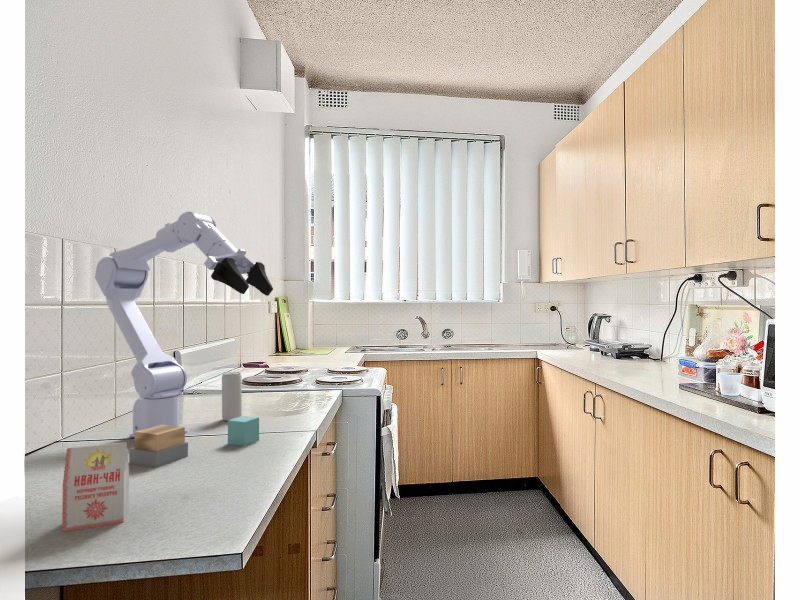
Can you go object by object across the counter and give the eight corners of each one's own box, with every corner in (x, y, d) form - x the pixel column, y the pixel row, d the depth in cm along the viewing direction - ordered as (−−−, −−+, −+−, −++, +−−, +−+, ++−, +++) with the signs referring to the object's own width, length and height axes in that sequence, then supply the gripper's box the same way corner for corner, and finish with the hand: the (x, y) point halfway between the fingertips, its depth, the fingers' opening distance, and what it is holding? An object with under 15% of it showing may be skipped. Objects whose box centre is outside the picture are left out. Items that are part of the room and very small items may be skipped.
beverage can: (235, 421, 117) (234, 374, 118) (218, 421, 118) (217, 374, 119) (245, 417, 122) (244, 372, 122) (228, 417, 123) (228, 371, 123)
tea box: (71, 519, 62) (71, 444, 62) (128, 511, 64) (129, 439, 64) (62, 531, 58) (62, 452, 59) (123, 522, 61) (123, 445, 61)
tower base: (129, 465, 85) (129, 448, 86) (161, 454, 92) (161, 439, 92) (156, 469, 83) (156, 452, 83) (187, 458, 89) (187, 442, 89)
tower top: (134, 448, 86) (134, 431, 86) (162, 439, 91) (162, 424, 92) (157, 451, 84) (157, 434, 84) (184, 442, 89) (184, 427, 89)
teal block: (227, 444, 97) (227, 420, 97) (242, 438, 101) (242, 415, 102) (244, 446, 96) (244, 422, 96) (259, 440, 100) (259, 417, 100)
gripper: (203, 230, 92) (244, 273, 88) (252, 241, 105) (289, 279, 101) (185, 258, 93) (225, 301, 89) (236, 265, 107) (272, 303, 103)
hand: (258, 291), depth 95 cm, fingers open, 7 cm apart
